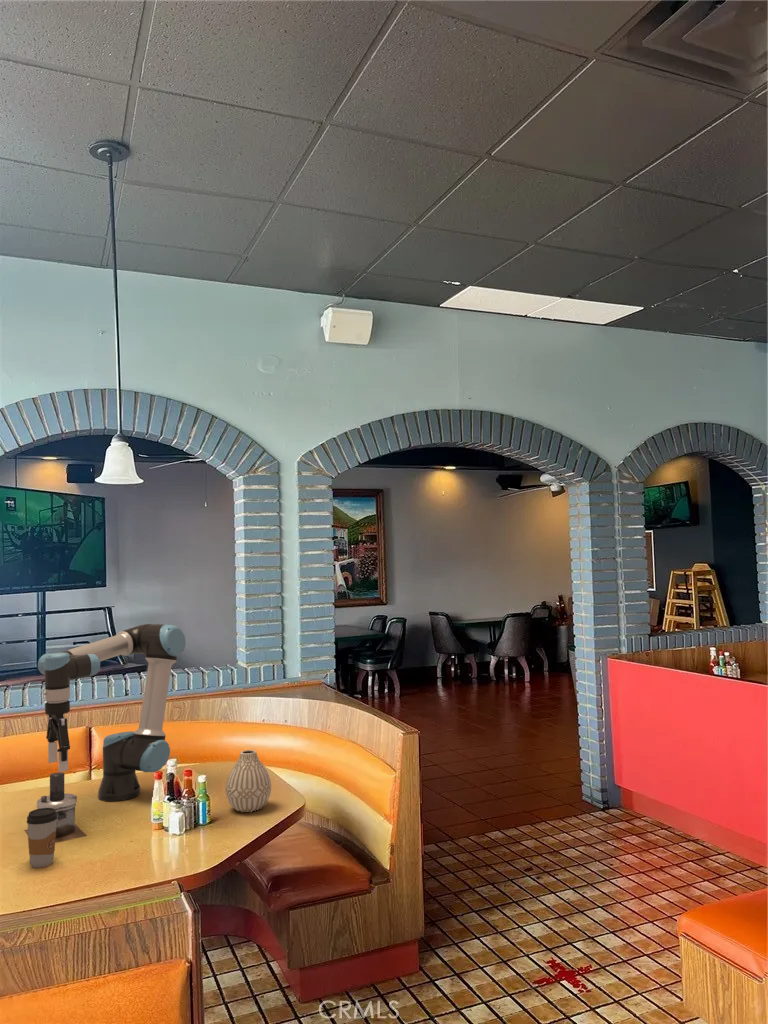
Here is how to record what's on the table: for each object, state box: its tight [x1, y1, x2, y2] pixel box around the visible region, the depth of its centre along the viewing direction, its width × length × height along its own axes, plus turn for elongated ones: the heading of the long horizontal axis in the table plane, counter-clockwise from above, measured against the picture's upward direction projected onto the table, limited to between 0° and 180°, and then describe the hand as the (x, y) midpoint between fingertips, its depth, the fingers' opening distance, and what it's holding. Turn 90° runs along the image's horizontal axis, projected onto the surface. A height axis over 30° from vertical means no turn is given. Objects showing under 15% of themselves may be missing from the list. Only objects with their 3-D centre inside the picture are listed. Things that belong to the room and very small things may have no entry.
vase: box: [225, 749, 272, 813], centre depth 274 cm, size 16×16×20 cm
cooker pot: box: [36, 803, 77, 838], centre depth 251 cm, size 16×12×9 cm
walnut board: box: [23, 823, 88, 844], centre depth 251 cm, size 15×19×1 cm
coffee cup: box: [26, 808, 57, 869], centre depth 228 cm, size 8×8×15 cm
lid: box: [36, 771, 78, 810], centre depth 252 cm, size 12×12×10 cm
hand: (58, 766), depth 252 cm, fingers open, 13 cm apart
